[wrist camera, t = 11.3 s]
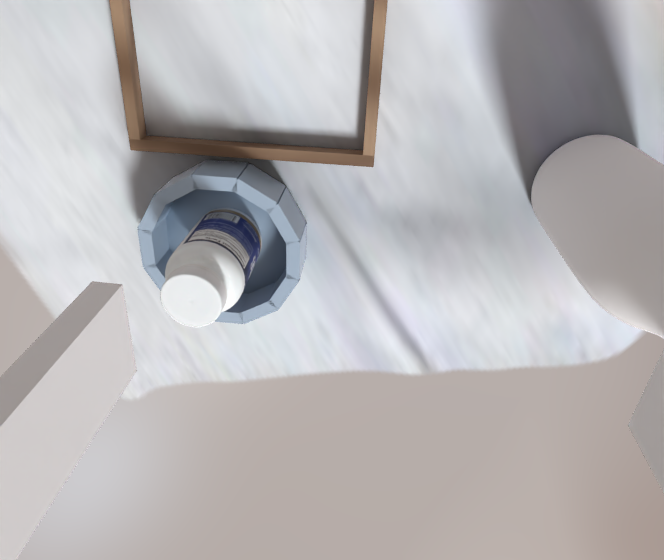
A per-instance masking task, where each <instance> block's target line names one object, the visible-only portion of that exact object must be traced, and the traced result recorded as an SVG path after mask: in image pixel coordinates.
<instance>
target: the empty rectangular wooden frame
mask: <svg viewBox="0 0 664 560" xmlns="http://www.w3.org/2000/svg"><path fill="white" fill-rule="evenodd" d="M109 2H110V9H111V16H112V23H113V30H114V37H115V44H116V51H117V58H118V65H119V72H120V79H121V86H122V93H123V100H124V107H125V114H126V121H127V128H128V135H129V142H130V149H131V150H136V151H151V152H165V153H179V154H194V155H208V156H222V157H237V158H251V159H265V160H280V161H294V162H309V163H323V164H337V165H352V166H366V167H373V165H374V154H375V142H376V130H377V118H378V106H379V95H380V83H381V71H382V59H383V48H384V36H385V24H386V12H387V0H374V12H373V25H372V39H371V52H370V66H369V79H368V93H367V106H366V120H365V133H364V147H363V150H350V149H335V148H320V147H306V146H291V145H276V144H262V143H247V142H232V141H218V140H203V139H188V138H173V137H159V136H146V128H145V120H144V112H143V104H142V96H141V88H140V80H139V72H138V64H137V56H136V48H135V40H134V32H133V25H132V17H131V9H130V1H129V0H109Z"/></svg>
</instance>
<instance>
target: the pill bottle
mask: <svg viewBox="0 0 664 560" xmlns="http://www.w3.org/2000/svg"><path fill="white" fill-rule="evenodd" d="M261 248H262V237H261V233H260V231H259V228H258V227H257V225H256V224H255V222H254V221H253V220H252V219H251V218H250V217H249V216H247V215H246V214H245V213H243V212H241V211H239V210H236V209H233V208H217V209H213V210H211V211H209V212H207V213H206V214H205V215H204V216H203V217H202V218H201V219H200V220H199V221H198V222H197V223H196V224H195V226H194V227H193V228H192V230H191V231H190V232H189V233H188V235H187V236H186V237H185V239H184V240H183V241H182V242H181V243H180V245H179V246H178V247H177V249H176V250H175V251H174V252H173V254H172V255H171V257H170V258H169V260H168V262H167V265H166V269H165V279H166V281H165V282H164V284H163V286H162V288H161V293H160V299H161V303H162V306H163V308H164V309H165V311H166V312H167V314H168V315H169V316H170V317H171V318H173V319H174V320H175V321H177V322H179V323H181V324H183V325H186V326H189V327H203V326H206V325H209V324H211V323H213V322H214V321H215V320H216V319H217V318H218V317H219V315H220V314H221V312H224V311H226V310H228V309H229V308H231V307H232V306H233V305H234V304H235V303H236V302H237V301H238V300H239V298H240V296H241V295H242V293H243V290H244V288H245V286H246V284H247V281H248V279H249V277H250V275H251V272H252V270H253V268H254V266H255V264H256V261H257V259H258V257H259V254H260V251H261Z"/></svg>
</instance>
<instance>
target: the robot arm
mask: <svg viewBox="0 0 664 560" xmlns="http://www.w3.org/2000/svg"><path fill="white" fill-rule="evenodd" d="M136 371H137V369H136V363H135V357H134V351H133V345H132V339H131V333H130V327H129V321H128V315H127V309H126V303H125V297H124V291H123V285H122V284H112V283H102V282H93V281H92V282H91V283H90V284H89V285H88V287H87V288H86V289H85V290H84V291H83V292H82V293H81V294H80V295H79V296H78V297H77V298H76V299H75V300H74V301H73V302H72V303H71V304H70V305H69V306H68V307H67V308H66V309H65V310H64V311H63V312H62V314H61V315H60V316H59V317H58V318H57V319H56V320H55V321H54V322H53V323H52V324H51V325H50V326H49V327H48V328H47V329H46V330H45V331H44V332H43V333H42V334H41V336H40V337H38V339H36V340H35V342H34V343H33V344H32V345H31V346H30V347H29V348H28V349H27V350H26V351H25V352H24V353H23V354H22V355H21V356H20V357H19V358H18V359H17V360H16V361H15V362H14V363H13V364H12V366H10V368H9V369H8V370H7V371H6V372H5V373H4V374H3V375H2V376H1V377H0V560H17V558H18V557H19V555H20V553H21V552H22V550H23V549H24V547H25V546H26V544H27V542H28V541H29V539H30V538H31V536H32V535H33V533H34V531H35V530H36V528H37V527H38V525H39V524H40V522H41V520H42V519H43V517H44V516H45V514H46V513H47V511H48V509H49V507H50V506H51V505H52V503H53V502H54V500H55V498H56V497H57V495H58V494H59V492H60V491H61V489H62V487H63V486H64V484H65V483H66V481H67V480H68V478H69V476H70V475H71V473H72V472H73V470H74V469H75V467H76V465H77V464H78V462H79V461H80V459H81V458H82V456H83V454H84V453H85V451H86V450H87V448H88V447H89V445H90V443H91V442H92V440H93V439H94V437H95V435H96V434H97V432H98V431H99V429H100V428H101V426H102V424H103V423H104V421H105V420H106V418H107V417H108V415H109V414H110V412H111V410H112V409H113V407H114V406H115V404H116V403H117V401H118V399H119V398H120V396H121V395H122V393H123V392H124V390H125V388H126V387H127V385H128V384H129V382H130V381H131V379H132V377H133V376H134V374H135V373H136ZM628 426H629V428H630V430H631V432H632V434H633V436H634V438H635V440H636V442H637V444H638V445H639V447H640V449H641V451H642V453H643V455H644V457H645V459H646V461H647V463H648V465H649V467H650V469H651V470H652V472H653V474H654V476H655V478H656V480H657V482H658V484H659V485H660V488H661V490H662V491H663V493H664V350H663V352H662V354H661V357H660V359H659V361H658V363H657V365H656V367H655V369H654V371H653V374H652V375H651V378H650V379H649V382H648V384H647V386H646V388H645V390H644V392H643V394H642V396H641V399H640V401H639V403H638V405H637V407H636V409H635V411H634V413H633V416H632V417H631V420H630V422H629V424H628Z"/></svg>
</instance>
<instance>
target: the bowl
mask: <svg viewBox="0 0 664 560" xmlns="http://www.w3.org/2000/svg"><path fill="white" fill-rule="evenodd" d="M217 208H233V209H236V210H239V211H241V212H243V213H245V214H246V215H247V216H249V217H250V218H251V219H252V220H253V221H254V222H255V224H256V225H257V227H258V228H259V231H260V233H261V237H262V248H261V251H260V254H259V257H258V259H257V261H256V264H255V266H254V268H253V270H252V272H251V275H250V277H249V279H248V281H247V284H246V286H245V288H244V290H243V293H242V295H241V296H240V298H239V300H238V301H237V302H236V303H235V304H234V305H233V306H232V307H231V308H229V309H228V310H226V311H224V312H221V314H220V315H219V317H218V318H217V319H216V320H215V322H226V323H238V324H243V323H244V324H245V323H248V322H250V321H253V320H255V319H257V318H260V317H262V316H265V315H267V314H270V313H272V312H275V311H277V310H278V309H279V308H280V307H281V306H282V304H283V303H284V301H285V300H286V299H287V297H288V296H289V294H290V293H291V292H292V290H293V289H294V287H295V286H296V285H297V283H298V282H299V280H300V276H301V273H302V269H303V266H304V263H305V259H306V227H307V223H306V220H305V218H304V216H303V215H302V213H301V211H300V209H299V208H298V206H297V204H296V202H295V201H294V199H293V197H292V195H291V194H290V192H289V190H288V188H287V187H285V185H284V184H282V183H280V182H279V181H277V180H276V179H274V178H272V177H271V176H269V175H268V174H266V173H265V172H263V171H261V170H260V169H258V168H257V167H255V166H253V165H252V164H249V165H248V163H245V162H231V161H217V160H207V161H206V160H205V161H203V162H201V163H200V164H198V165H196V166H194V167H192V168H190V169H188V170H186V171H184V172H183V173H181V174H179V175H177V176H175V177H173V178H172V179H171V180H170V181H169V182H167V183H166V184H165V185H164V186H163V187H162V188H161V189H160V190H159V191H158V192H156V193H155V194H154V196H153V198H152V200H151V202H150V204H149V206H148V208H147V210H146V212H145V214H144V216H143V218H142V220H141V222H140V225H139V227H138V236H139V243H140V250H141V256H142V263H143V267H144V269H145V271H146V272H147V273H148V275H149V276H150V277H151V279H152V280H153V281H154V283H155V284H156V285H157V287H158V288H159V289H160V291H161V288H162V286H163V284H164V282H165V281H166V279H165V269H166V265H167V262H168V260H169V258H170V257H171V255H172V254H173V252H174V251H175V250H176V249H177V247H178V246H179V245H180V243H181V242H182V241H183V240H184V239H185V237H186V236H187V235H188V233H189V232H190V231H191V230H192V228H193V227H194V226H195V224H196V223H197V222H198V221H199V220H200V219H201V218H202V217H203V216H204V215H205V214H206V213H207V212H209V211H211V210H213V209H217Z"/></svg>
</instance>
